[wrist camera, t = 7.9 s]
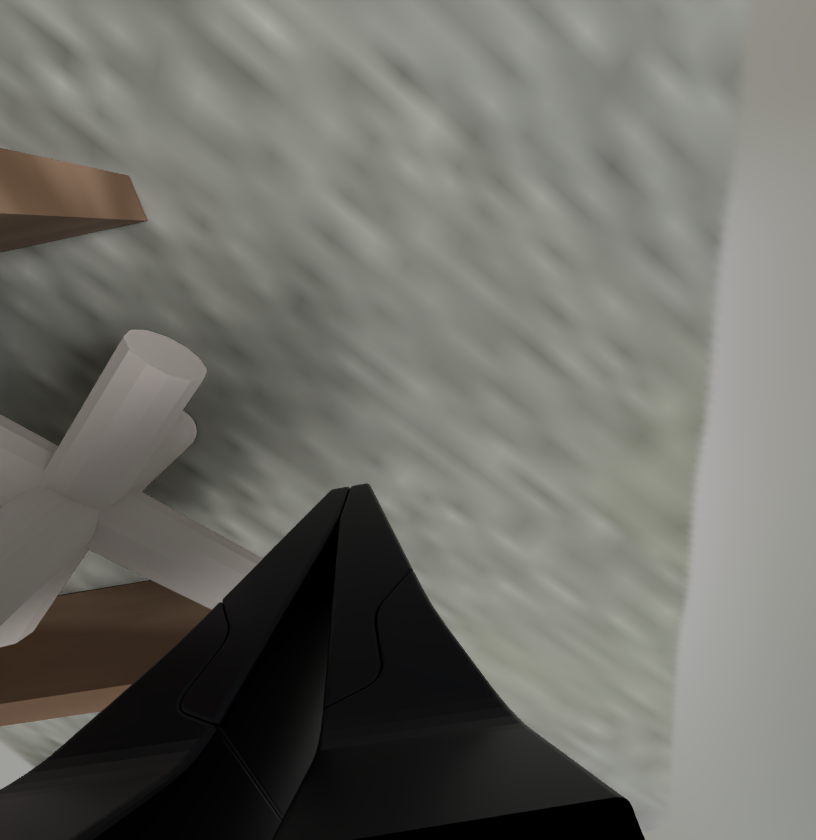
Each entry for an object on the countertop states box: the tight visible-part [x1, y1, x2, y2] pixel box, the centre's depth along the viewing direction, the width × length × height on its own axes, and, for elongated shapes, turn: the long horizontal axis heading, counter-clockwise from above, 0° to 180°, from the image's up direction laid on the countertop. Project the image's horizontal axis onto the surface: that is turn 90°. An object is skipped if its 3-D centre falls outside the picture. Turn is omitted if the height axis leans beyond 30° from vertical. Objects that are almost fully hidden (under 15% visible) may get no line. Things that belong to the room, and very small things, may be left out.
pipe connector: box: [0, 330, 263, 647], centre depth 10 cm, size 10×10×10 cm
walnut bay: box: [0, 148, 211, 726], centre depth 13 cm, size 16×14×5 cm
